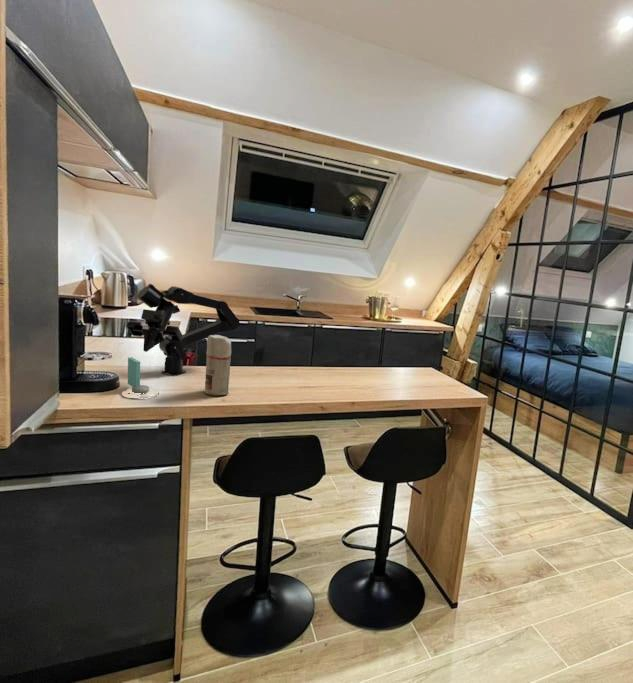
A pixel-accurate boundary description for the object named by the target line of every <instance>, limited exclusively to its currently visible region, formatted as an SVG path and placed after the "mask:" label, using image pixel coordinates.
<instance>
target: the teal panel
mask: <svg viewBox="0 0 633 683" xmlns="http://www.w3.org/2000/svg"><path fill="white" fill-rule="evenodd" d="M127 385H128V386H130V387H131V388H132V392H134V393H146V392H148V391H149V386H148V385H142V384H141V361H140V360H138V359H136V358H134V357H132V356H131V357H128V358H127Z"/></svg>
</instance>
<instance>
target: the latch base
mask: <svg viewBox="0 0 633 683" xmlns="http://www.w3.org/2000/svg"><path fill="white" fill-rule="evenodd" d="M148 387H149V386H148ZM158 393H159V394H160V391H159V389H158V388H155V387H152V386H151V387H149V391H148V392H146V393H144V394H143V393H141V394H140V395H141V396H140V397H139V398H148V397H153V396H156V395H157V394H158ZM128 394H130V393H128ZM137 396H139V395H137ZM156 397H157V396H156ZM153 398H154V397H153Z"/></svg>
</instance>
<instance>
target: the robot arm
mask: <svg viewBox="0 0 633 683" xmlns="http://www.w3.org/2000/svg"><path fill="white" fill-rule="evenodd" d="M136 298H137V299H138V300H139V301H140V302H142V303H143V304H145V305H146V306H147V307H148V308H151V310H150V309H144V308H143V310H142V314H141V317H140V318H141V320H144V323H145V324H143V325H142V323H141V322H140V321H135V320H128V322H127V323H126V325H125V328H126V329H127V330H128V331H129V333H130V335H132V336H134V337H142V336H143V350H142V351H143V352H144V353H147V352H148V351H150V350H151V349H153V348H154V347H156V346H157V345H158V347H159V349H160V351H161V352H163V355H164V356H166V357H165V360H164V361H165V362H164V370H162V371H161V373H162V372H164V373H163V374H165V373H168V374H167V375H169V374H172V375H171V376H174V375H176V376H178V374H179V375H181V374H186V373H187V371H186V370H184V368H183V367H184V360H185V359H186V356H187V352H185V351H184V350H185V349H186V348H187V347H188V346H190V345H192V344H195V343H198V342H200V341H202V340H204V339H207V338H208V336H210V335H218V334H219V333H229V332H233V331H237V330H238V329H239V327H240V319H239V318H238V317H237V316H236V315H235V313H234V311H232V309H231V308H230V307H229V305H228V304H227V303H228V302H227V301H226V300H222V299H216V298H211V297H207V296H203V295H199V294H195V293H193V292H191V291H190V290H187V289H185V288H183V287H178V286H174V285H173V286H170V287H168V289H167V290H163V291H160V290H159V289H158V288H156V286H154V284H152V283H149V284H147V285H146V286H145V287H144V288H142V289H141V290H140V291H139V292H138V294H137V296H136ZM174 303H176V304H177V305H175V304H174ZM178 304H179V305H180V304H184V305H185V304H186V305H193V304H194V305H198V306H202V307H208V308H211V309H215V311H216V314H217V318H216V320H214V322H212V323H210V324H207V325H204V326H201V327H200V328H197V329H195V330H191V331H189V332H187V333H185V334H183V333H182V332H181V330H180V327H179V326H176V325H175V326H173V325H171V322H170V319H171V318H172V316H173V314H177V313H179V312H181V310H180V308H179V306H178ZM153 308H156V309H155V310H152V309H153Z"/></svg>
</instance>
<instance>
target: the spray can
mask: <svg viewBox="0 0 633 683" xmlns="http://www.w3.org/2000/svg"><path fill="white" fill-rule="evenodd" d="M206 339H207V340H206V361H205V362H206V363H205V364H206V366H205V381H204V384H205V385H204V391H203V393H204V392H205V393H204V394H207V395H208V396H215V397H216V396H217V397H218V396H227V395H229V388H230V387H229V385H230V371H231V357H232V340H231V339H229V337H227V336H223V335H220V334H214V335H210V336H208V337H207V338H206Z"/></svg>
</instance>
